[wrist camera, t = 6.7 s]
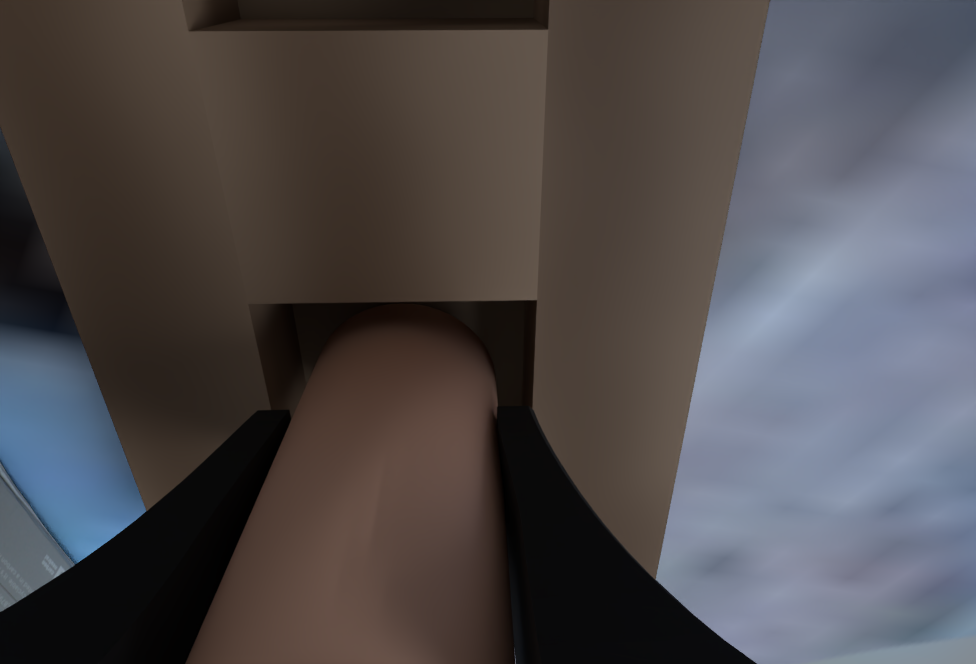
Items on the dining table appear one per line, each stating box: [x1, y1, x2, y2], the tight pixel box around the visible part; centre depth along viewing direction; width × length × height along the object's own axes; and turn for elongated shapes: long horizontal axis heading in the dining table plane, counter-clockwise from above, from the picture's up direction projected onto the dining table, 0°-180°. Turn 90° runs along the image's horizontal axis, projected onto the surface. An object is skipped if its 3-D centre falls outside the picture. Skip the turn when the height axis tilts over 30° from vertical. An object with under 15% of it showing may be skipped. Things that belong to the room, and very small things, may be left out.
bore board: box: [0, 0, 770, 579], centre depth 12 cm, size 12×22×3 cm, turn 0°
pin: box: [185, 303, 515, 664], centre depth 10 cm, size 4×4×8 cm
